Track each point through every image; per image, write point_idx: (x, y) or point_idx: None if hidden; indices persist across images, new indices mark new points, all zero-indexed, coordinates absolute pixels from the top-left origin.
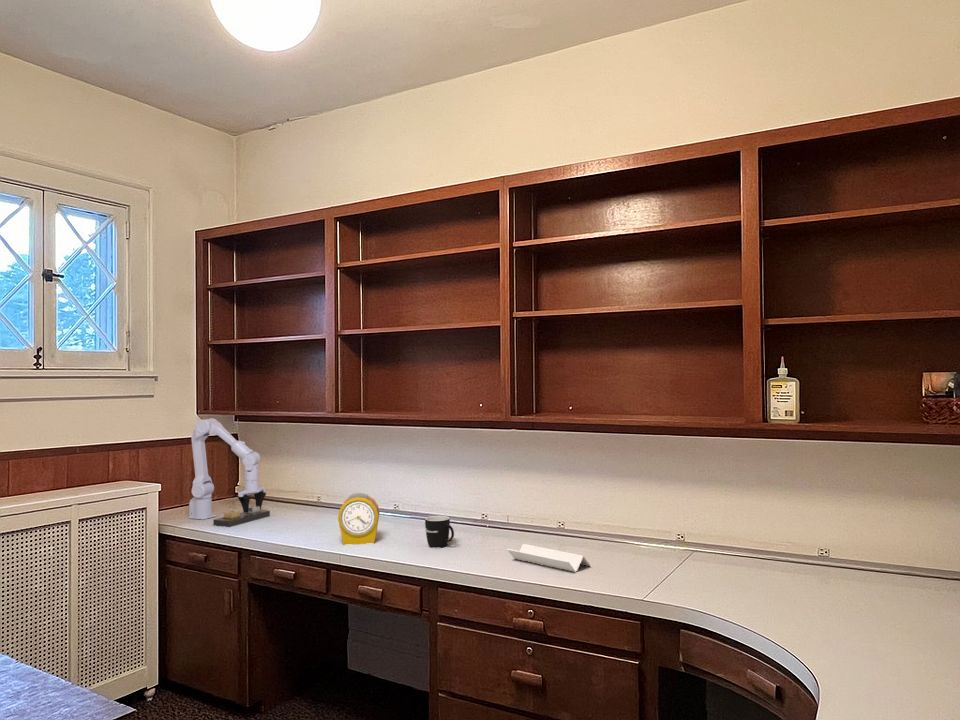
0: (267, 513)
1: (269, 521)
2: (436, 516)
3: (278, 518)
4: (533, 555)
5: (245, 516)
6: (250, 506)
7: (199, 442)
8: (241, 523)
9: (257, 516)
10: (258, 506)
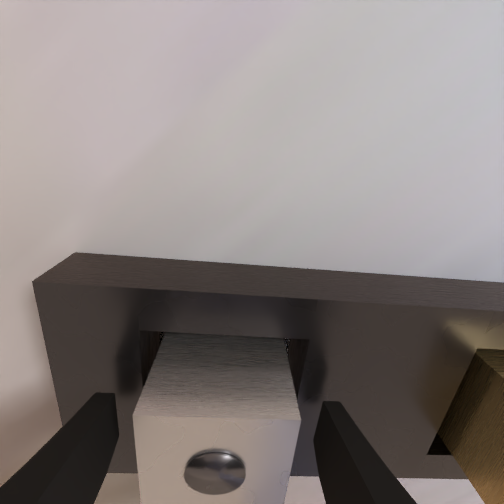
0: (96, 271)
1: (342, 27)
2: None
3: (130, 29)
4: None
5: (452, 328)
6: (221, 492)
7: None
8: (491, 283)
9: (274, 280)
10: (161, 416)
